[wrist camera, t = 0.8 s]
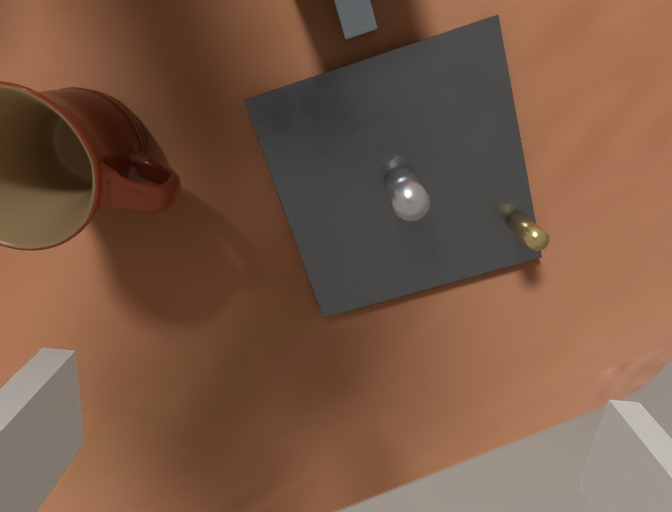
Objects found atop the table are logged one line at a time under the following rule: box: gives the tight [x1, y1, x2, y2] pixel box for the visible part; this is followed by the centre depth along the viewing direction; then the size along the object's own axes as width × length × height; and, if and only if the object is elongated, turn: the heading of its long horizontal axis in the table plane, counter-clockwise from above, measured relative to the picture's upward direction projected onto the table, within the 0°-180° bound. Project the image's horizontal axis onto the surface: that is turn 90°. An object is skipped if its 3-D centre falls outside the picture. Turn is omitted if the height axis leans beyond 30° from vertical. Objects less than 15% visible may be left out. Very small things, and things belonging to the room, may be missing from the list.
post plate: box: [244, 15, 549, 318], centre depth 33 cm, size 17×17×6 cm
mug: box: [0, 81, 181, 251], centre depth 31 cm, size 12×9×10 cm
